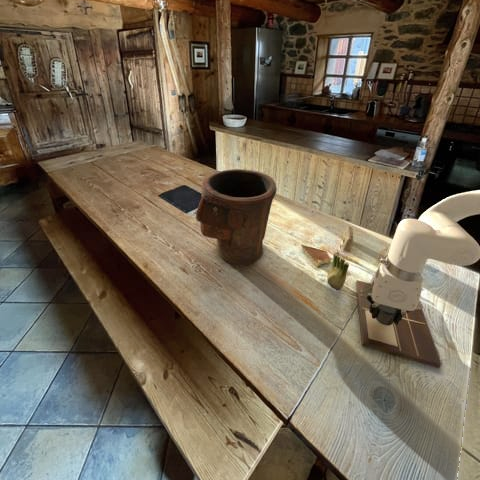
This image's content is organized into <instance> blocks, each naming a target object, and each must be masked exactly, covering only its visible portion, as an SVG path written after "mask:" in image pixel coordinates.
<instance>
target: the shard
mask: <svg viewBox="0 0 480 480" xmlns="http://www.w3.org/2000/svg"><path fill="white" fill-rule="evenodd" d="M300 246H301V249H302V250H303V251H304V252H305V253H306V254H307V255H308V256H309V258H311V260H312V261H313V262H314V263H315V265H316V266H317V267H319V266H322V265H323V264H330V262H331V261H333V257H331V256H330V255H329V253H328V251H325V250H323V249H319V248H316V247H312V246H307V245H304V244H300Z"/></svg>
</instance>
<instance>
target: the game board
mask: <svg viewBox="0 0 480 480" xmlns="http://www.w3.org/2000/svg"><path fill="white" fill-rule="evenodd" d="M370 284H371V282H367V281H361V280H355V289H356V299H357V309H358V321H359V330H360V339H361V346H362V347H365V348H368V349H372V350H376V351H379V352H383V353H386V354H390V355H392V356H396V357H400V358H403V359H407V360H409V361H413V362H417V363H421V364H424V365H427V366H430V367H435V368H438V369H440V368H441V367H442V362H441V360H440V359H441V358H440V356H439V353H438V351H437V347H436V345H435V342H434V339H433V336H432V333H431V330H430V327H429V325H428V321H427V318H426V316H425V313H424V311H423V308H422V309H417V310H414V311H411V312H408V313H406V315H403V317H402V319H401V321H400V320H399V323H398V325H396V324H394V322H393V324H392V325H389V326H386V325H383V324H381V323H379V322H378V321H377V320H376V318H375V319H373V318H372V314H371V313H370V312H369V307H370V304H371V303H370V302H369V301H368V300H367V298H366V297H365V296H363V295H362V294H361V288H363V287H365V286H367V285H370ZM370 293H371V294H372V292H370Z"/></svg>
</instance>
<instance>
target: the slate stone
mask: <svg viewBox="0 0 480 480" xmlns="http://www.w3.org/2000/svg"><path fill="white" fill-rule="evenodd" d="M396 315H397V308H394V307H390V306H386V305H382V304H379V305H378V312H377V315H376V320H377V321H378V322H379V323H381V324H383V325H386V326H389V325H392V324H393V322H394V319H395V317H396Z"/></svg>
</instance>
